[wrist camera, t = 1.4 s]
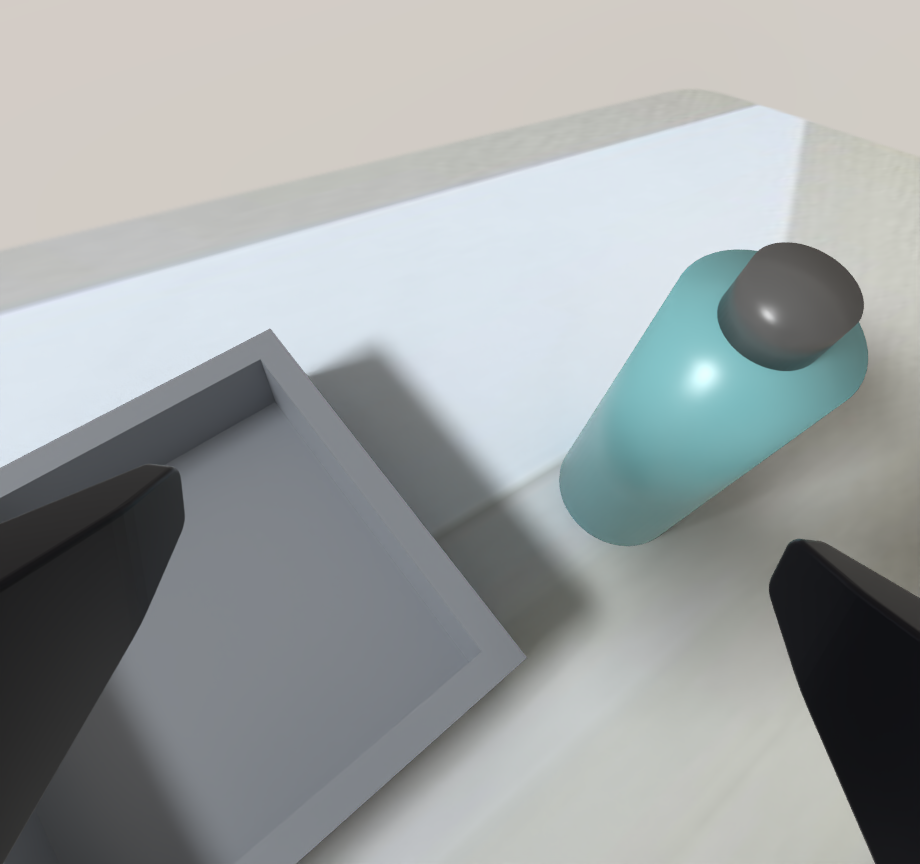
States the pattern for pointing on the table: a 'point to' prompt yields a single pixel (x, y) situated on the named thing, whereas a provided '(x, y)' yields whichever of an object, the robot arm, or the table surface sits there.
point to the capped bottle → (716, 387)
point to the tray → (257, 629)
